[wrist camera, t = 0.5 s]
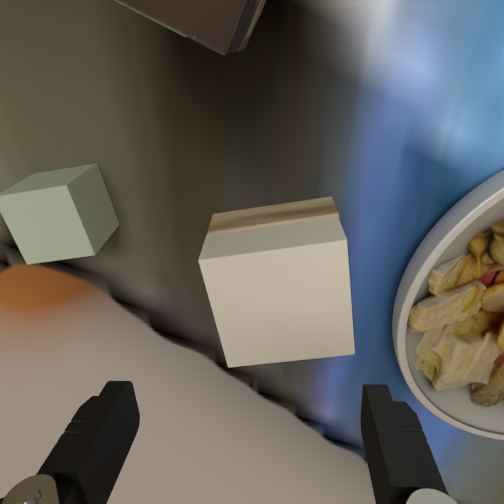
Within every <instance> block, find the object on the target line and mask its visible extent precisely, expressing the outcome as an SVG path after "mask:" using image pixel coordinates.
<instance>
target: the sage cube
mask: <svg viewBox="0 0 504 504" xmlns="http://www.w3.org/2000/svg"><path fill="white" fill-rule="evenodd" d="M0 212H1V214H2V216H3V218H4V220H5V222H6V224H7V226H8V228H9V230H10V232H11V234H12V236H13V238H14V240H15V242H16V244H17V246H18V248H19V250H20V252H21V253H22V255H23V257H24V259H25V261H26V263H27V265H28V264H35V263H42V262H49V261H56V260H64V259H71V258H78V257H85V256H92V255H96V253H97V252H98V251H99V250H100V248H101V247H102V246H103V245H104V243H105V242H106V241H107V240H108V238H109V237H110V236H111V235H112V233H113V232H114V231H115V230H116V229H117V227H118V226H119V223H118V220H117V217H116V214H115V212H114V209H113V206H112V203H111V201H110V198H109V195H108V192H107V190H106V187H105V184H104V181H103V178H102V176H101V173H100V170H99V167H98V165H97V163H95V164H89V165H83V166H77V167H71V168H65V169H59V170H53V171H47V172H41V173H35V174H32V175H31V176H29V177H27V178H25V179H24V180H22V181H20V182H18V183H17V184H15V185H13V186H11V187H9V188H8V189H6V190H4V191H2V192H1V193H0Z"/></svg>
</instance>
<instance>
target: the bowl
mask: <svg viewBox="0 0 504 504" xmlns="http://www.w3.org/2000/svg"><path fill="white" fill-rule="evenodd" d="M392 334H393V343H394V349H395V354H396V358H397V361H398V364H399V366H400V369H401V372H402V374H403V376H404V379H405V381H406V383H407V384H408V386H409V388H410V390H411V391H412V392H413V394H414V395H415V396H416V398H417V399H418V400H419V401H420V402H421V403H422V404H423V405H424V406H425V407H426V408H427V409H428V410H429V411H431V412H432V413H433V414H435V415H436V416H437V417H439V418H440V419H442V420H444V421H445V422H447V423H449V424H451V425H453V426H455V427H457V428H460V429H462V430H465V431H467V432H470V433H474V434H477V435H481V436H485V437H489V438H494V439H500V440H504V169H503V170H502V171H500V172H498V173H497V174H495V175H494V176H492V177H490V178H489V179H487V180H486V181H484V182H483V183H481V184H480V185H479V186H477V187H476V188H475V189H473V190H472V191H471V192H469V193H468V194H467V195H466V196H464V197H463V198H462V199H461V200H460V201H458V202H457V203H456V204H455V205H454V206H453V207H452V208H451V209H450V210H449V211H448V212H447V213H446V214H445V215H444V216H443V217H442V218H441V219H440V220H439V221H438V222H437V223H436V224H435V226H434V227H433V228H432V229H431V230H430V232H429V233H428V234H427V235H426V237H425V238H424V239H423V241H422V242H421V244H420V245H419V247H418V248H417V250H416V251H415V253H414V255H413V256H412V258H411V260H410V262H409V264H408V265H407V267H406V270H405V272H404V274H403V276H402V279H401V282H400V285H399V288H398V291H397V294H396V298H395V303H394V309H393V318H392Z"/></svg>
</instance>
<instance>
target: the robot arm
mask: <svg viewBox="0 0 504 504" xmlns="http://www.w3.org/2000/svg"><path fill="white" fill-rule="evenodd" d="M139 421H140V415H139V409H138V405H137V401H136V397H135V392H134V388H133V384H132V383H131V382H130V381H108V382H107V383H106V385H105V386H104V388H103V390H102V391H101V393H100V395H99V396H92V397H91V398H90V399H89V400H87V401H86V402H85V403H84V404H83V405H82V406H80V407H79V409H78V411H77V412H76V414H75V415H74V417H73V418H72V420H71V423H69V425H68V426H67V428H66V429H65V432H64V433H63V434H62V435H61V437H60V438H59V440H58V442H57V443H56V445H55V446H54V448H53V449H52V451H51V453H50V454H49V456H48V457H47V459H46V460H45V462H44V464H43V465H42V466H41V468H40V470H39V471H38V473H37V474H36V475H34V476H31V477H28V478H27V479H25V480H23V481H21V482H20V483H18V484H17V485H16V486H14V487H13V488H12V489H11V490H10V491H9V492H8V494H7V495H6V496H5V497H4V498H1V499H0V504H106V503H107V501H108V499H109V496H110V494H111V492H112V489H113V487H114V485H115V482H116V480H117V478H118V476H119V473H120V471H121V469H122V466H123V464H124V462H125V459H126V457H127V455H128V452H129V450H130V448H131V445H132V443H133V441H134V438H135V436H136V434H137V431H138V428H139ZM361 432H362V439H363V444H364V449H365V453H366V458H367V463H368V468H369V472H370V477H371V482H372V486H373V491H374V496H375V500H376V504H457V503H456V502H455V501H454V500H453V499H452V498H451V497H450V496H449V494H448V492H447V490H446V488H445V486H444V483H443V480H442V478H441V475H440V473H439V470H438V468H437V465H436V463H435V460H434V457H433V455H432V452H431V450H430V447H429V445H428V444H427V439H426V437H425V434H424V432H423V431H422V427H421V424H420V422H419V419H418V416H417V414H416V413H415V412H414V411H413V410H412V409H411V408H410V406H409V405H408V404H407V403H406V402H399V401H393V400H392V397H391V394H390V391H389V388H388V386H387V385H372V384H364V385H363V392H362V407H361Z"/></svg>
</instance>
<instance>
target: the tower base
mask: <svg viewBox="0 0 504 504" xmlns="http://www.w3.org/2000/svg"><path fill="white" fill-rule="evenodd" d="M331 216H338V218H339V212H338V210H337V208H336V205H335V203H334V200H333V198H332V196H331V197H324V198H317V199H311V200H304V201H297V202H290V203H284V204H277V205H270V206H263V207H257V208H250V209H243V210H236V211H230V212H223V213H216V214H213V216H212V219H211V222H210V225H209V228H208V231H207V232H208V234H214V233H221V232H228V231H235V230H241V229H248V228H255V227H262V226H269V225H276V224H283V223H290V222H297V221H303V220H310V219H317V218H324V217H331Z"/></svg>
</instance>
